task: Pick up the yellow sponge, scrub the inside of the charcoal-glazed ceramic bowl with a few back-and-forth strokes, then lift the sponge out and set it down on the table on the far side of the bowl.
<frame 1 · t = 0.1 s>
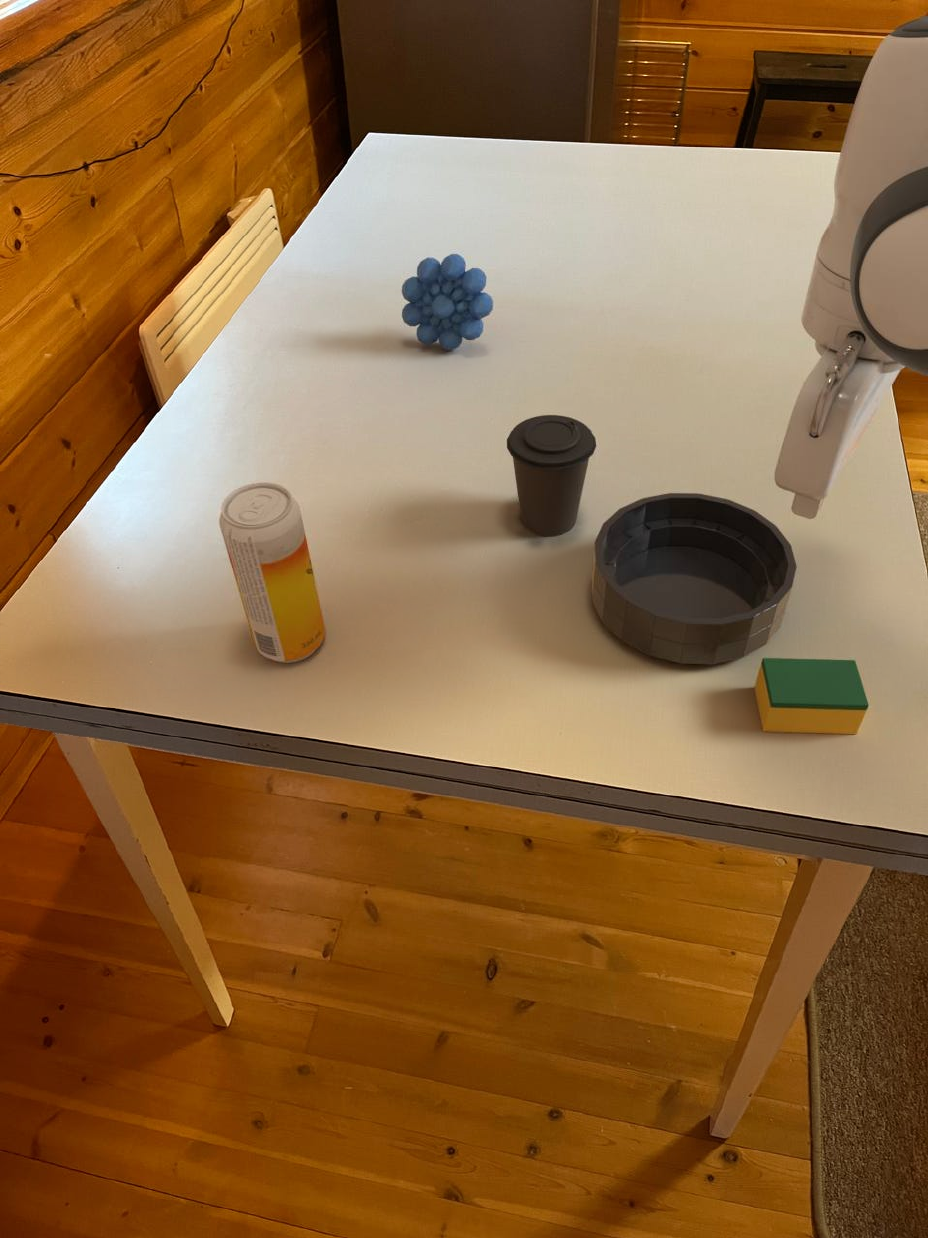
hand: (825, 476, 69), 15 cm above the table, tool pointing down, fingers open, 8 cm apart
coffee cup: (548, 520, 90), on the table
blue knobbed flower: (451, 347, 114), on the table
bowl: (685, 600, 81), on the table
sponge: (804, 710, 72), on the table
beer can: (291, 642, 80), on the table
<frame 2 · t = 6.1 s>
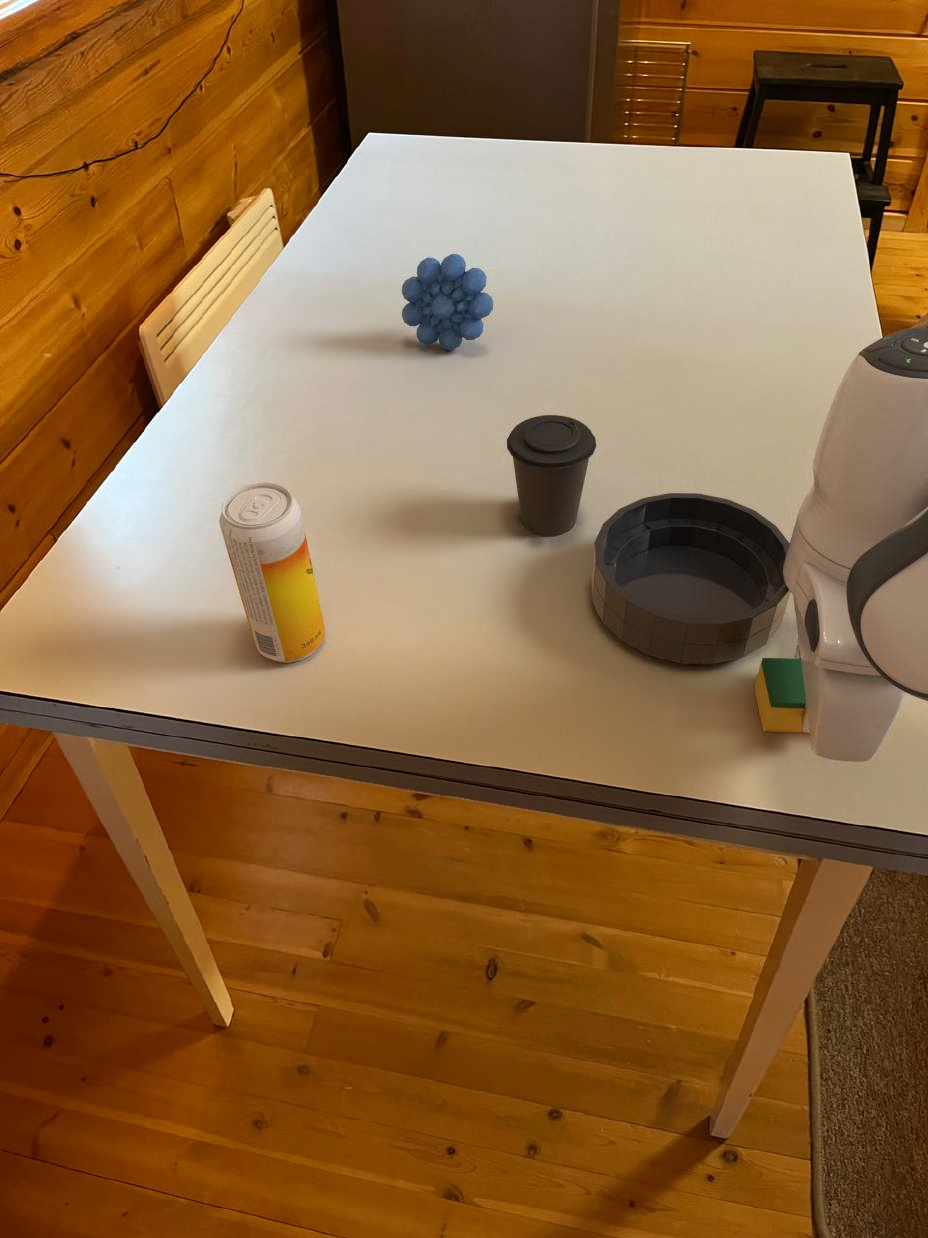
hand: (809, 696, 71), 2 cm above the table, tool pointing down, fingers closed on sponge, 4 cm apart
sponge: (803, 709, 72), on the table, touching gripper
everything else where it was.
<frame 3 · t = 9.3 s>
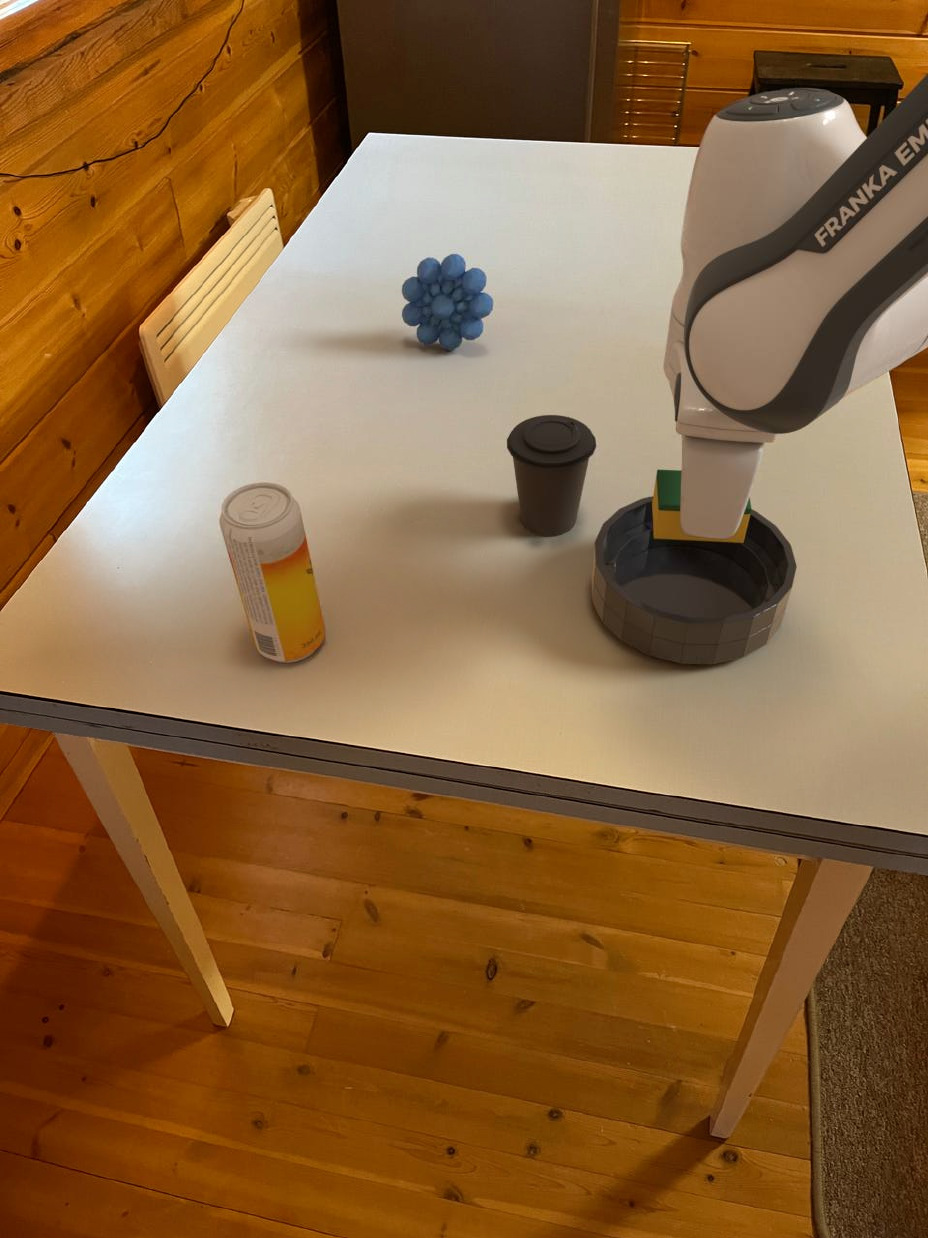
hand: (700, 506, 74), 10 cm above the table, tool pointing down, fingers closed on sponge, 4 cm apart
sponge: (696, 522, 75), point 9 cm above the table, touching gripper
everything else where it was.
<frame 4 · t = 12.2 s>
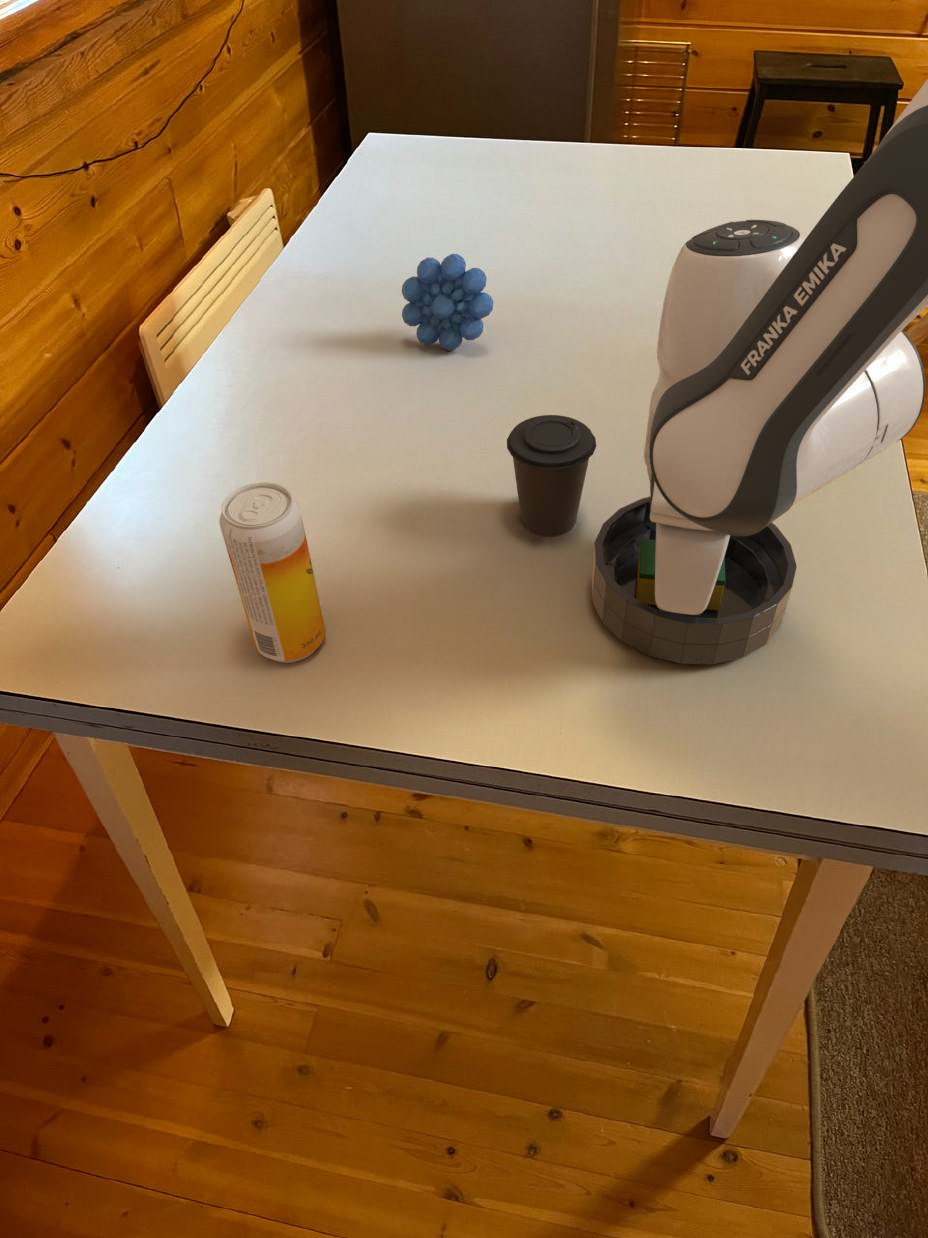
hand: (680, 575, 80), 3 cm above the table, tool pointing down, fingers closed on sponge, 4 cm apart
sponge: (677, 589, 81), point 1 cm above the table, touching gripper
everything else where it was.
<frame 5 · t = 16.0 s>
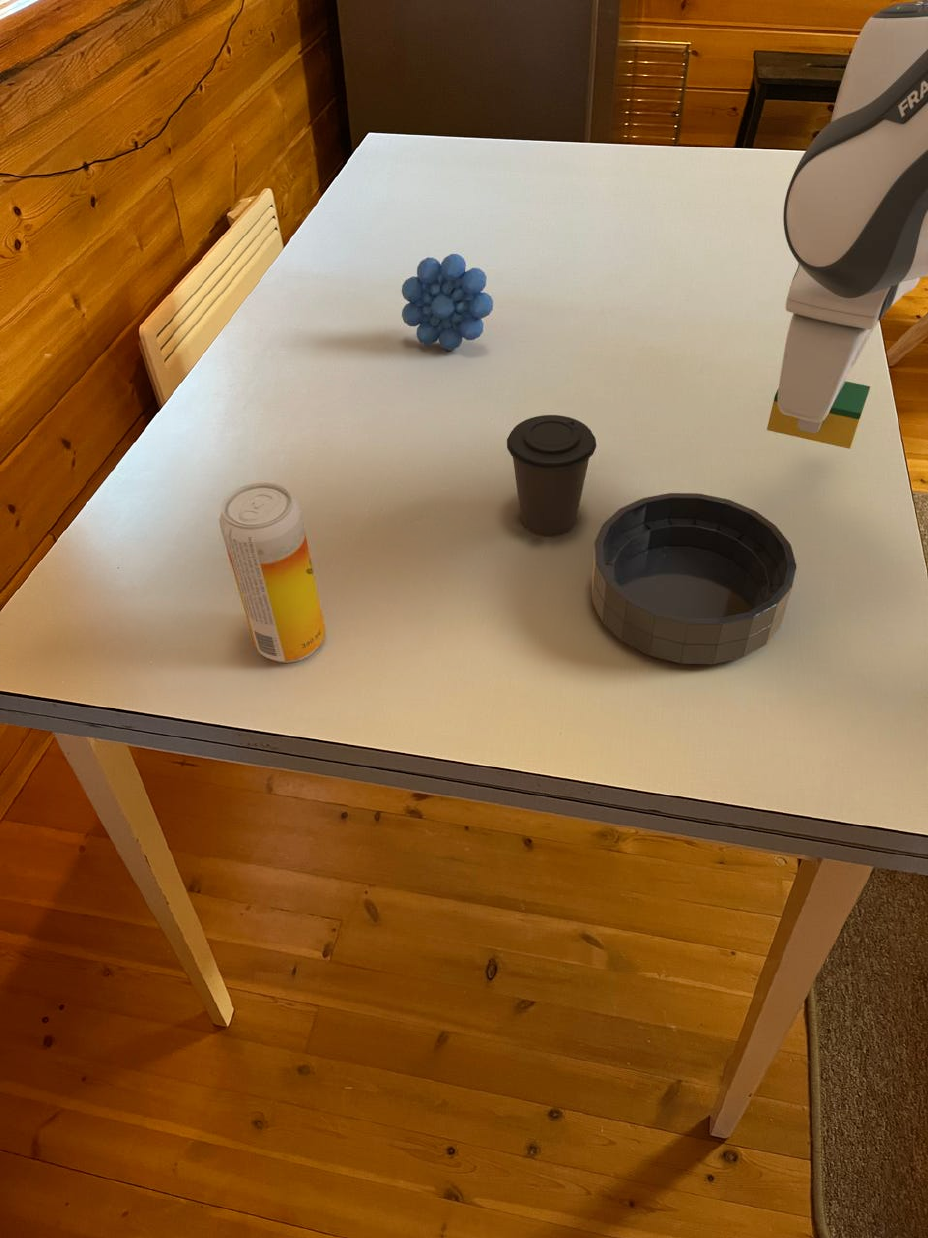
hand: (819, 410, 79), 12 cm above the table, tool pointing down, fingers closed on sponge, 4 cm apart
sponge: (813, 425, 80), point 11 cm above the table, touching gripper
everything else where it was.
when the fingers open (2 cm above the table, at t = 18.8 s): sponge stays where it is, on the table.
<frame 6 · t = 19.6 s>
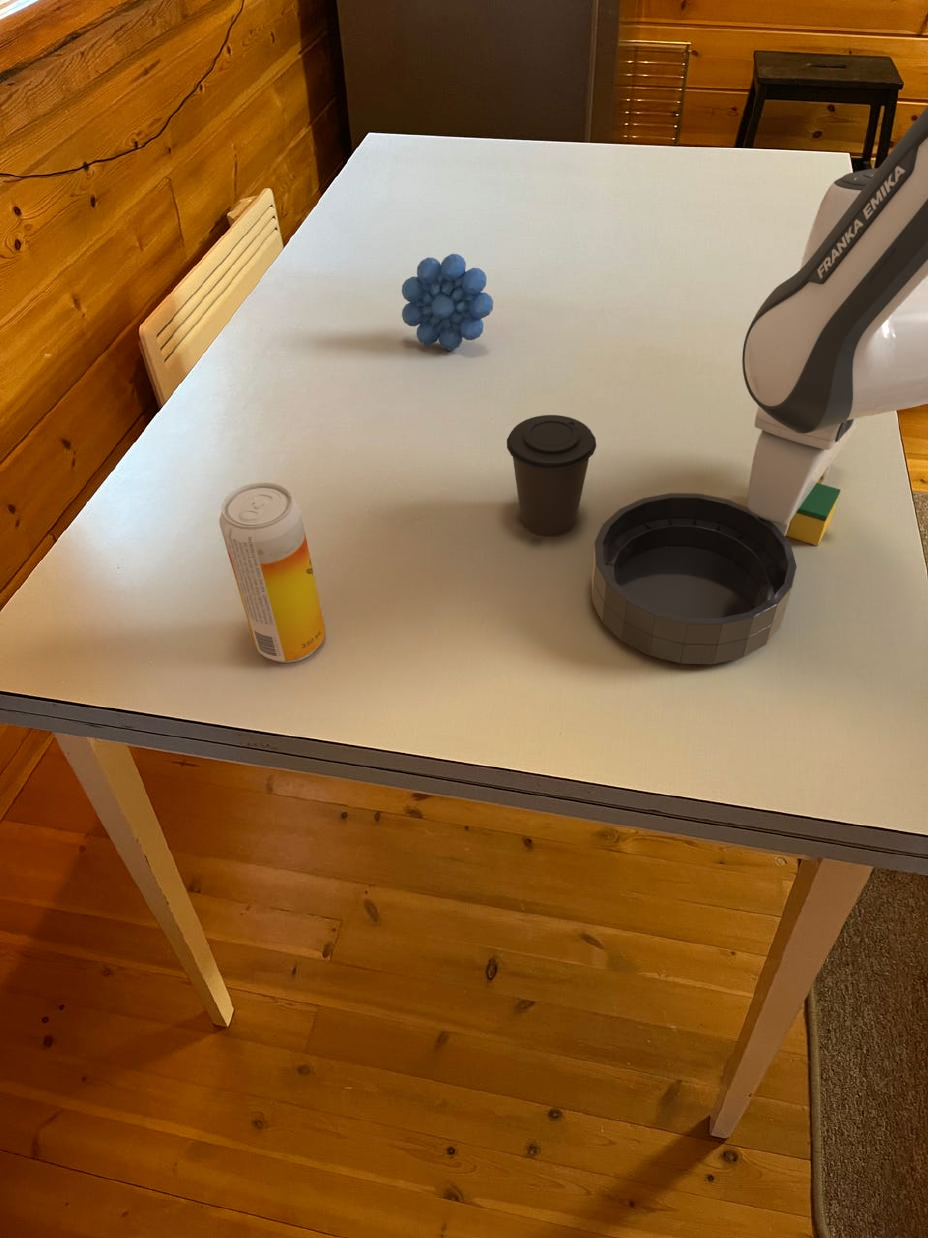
hand: (796, 504, 87), 2 cm above the table, tool pointing down, fingers open, 8 cm apart
sponge: (787, 520, 88), on the table
everything else where it was.
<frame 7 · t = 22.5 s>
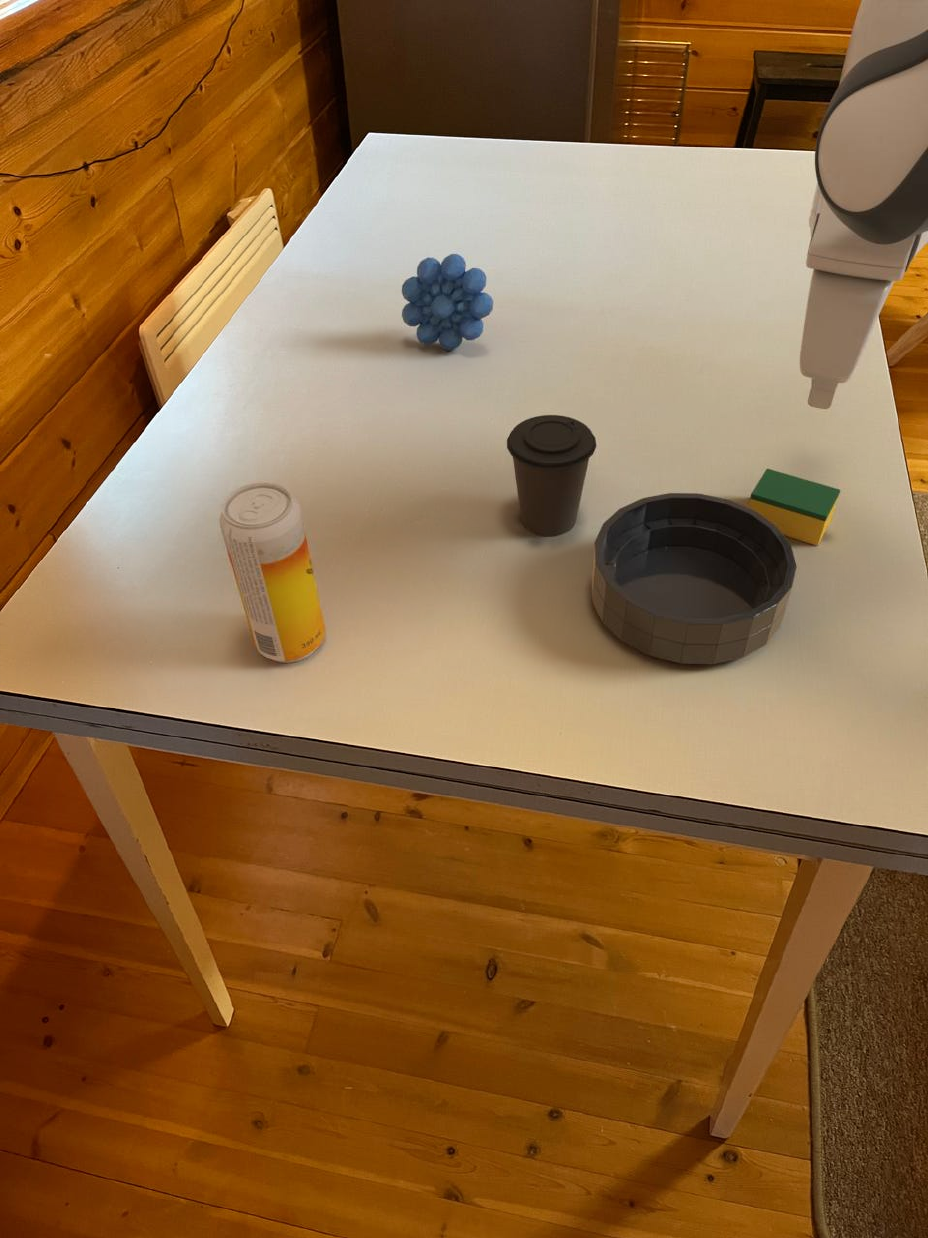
hand: (830, 374, 77), 16 cm above the table, tool pointing down, fingers open, 8 cm apart
nothing on the table moved.
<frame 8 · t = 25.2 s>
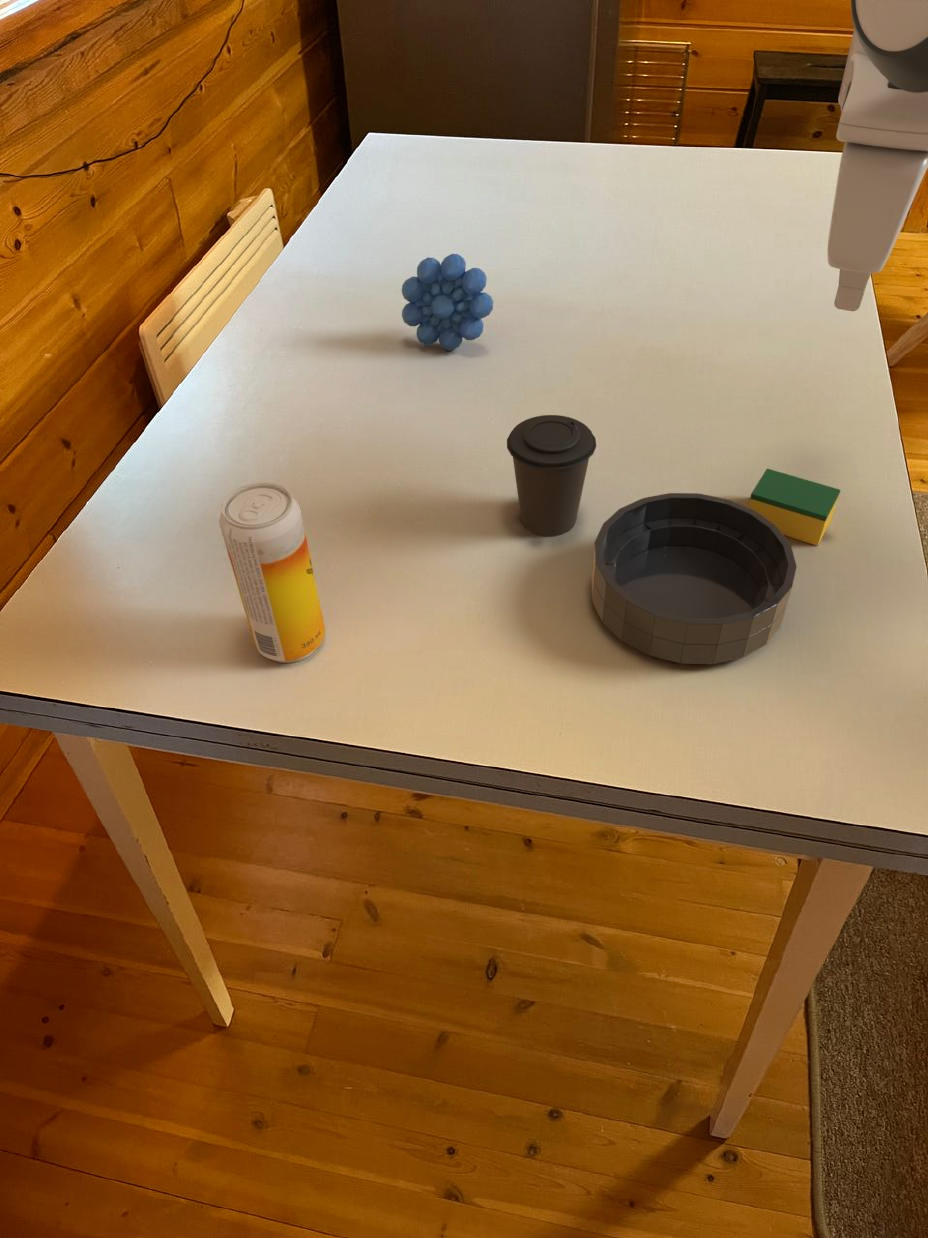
hand: (858, 278, 71), 24 cm above the table, tool pointing down, fingers open, 8 cm apart
nothing on the table moved.
at the end: sponge inside the target area (0.3 cm from its centre), on the table; sponge moved 23.3 cm from its start; the gripper is holding nothing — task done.
